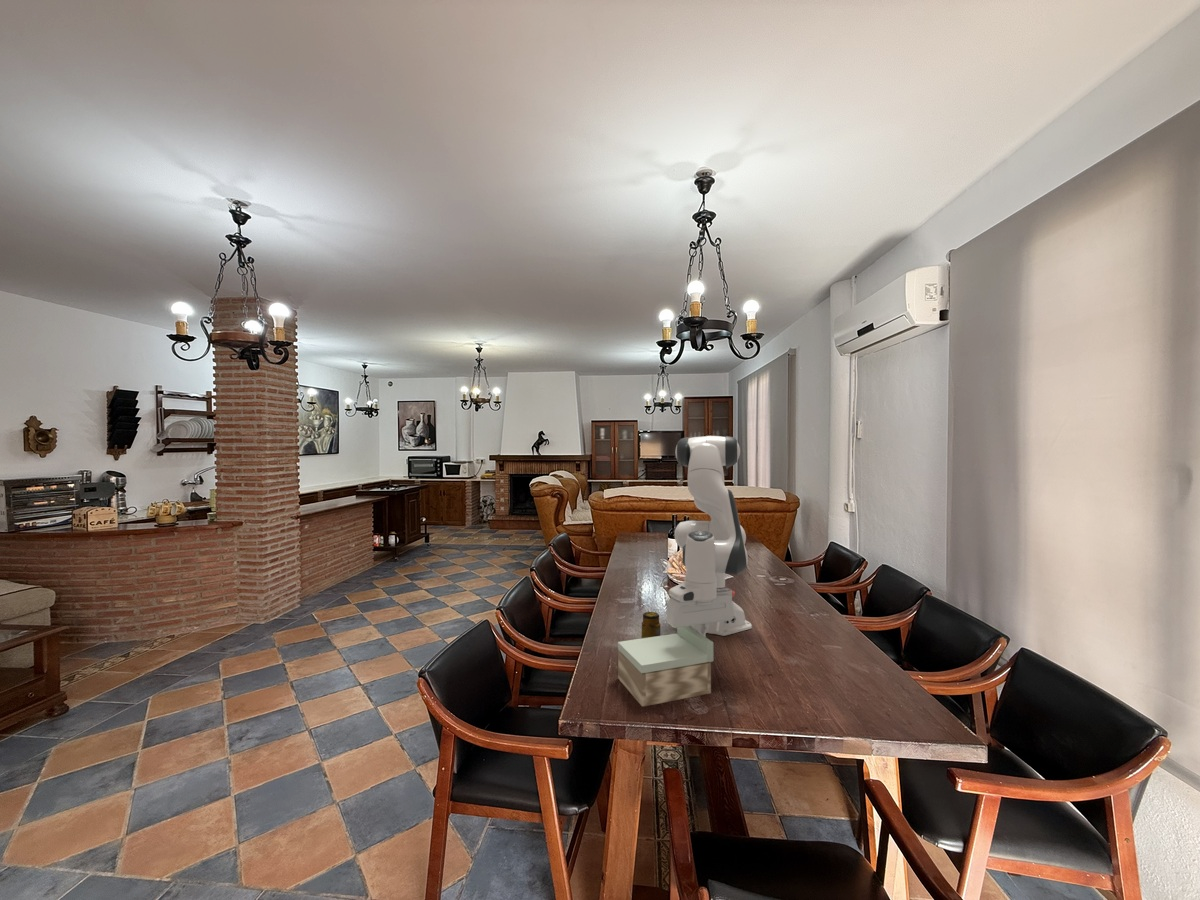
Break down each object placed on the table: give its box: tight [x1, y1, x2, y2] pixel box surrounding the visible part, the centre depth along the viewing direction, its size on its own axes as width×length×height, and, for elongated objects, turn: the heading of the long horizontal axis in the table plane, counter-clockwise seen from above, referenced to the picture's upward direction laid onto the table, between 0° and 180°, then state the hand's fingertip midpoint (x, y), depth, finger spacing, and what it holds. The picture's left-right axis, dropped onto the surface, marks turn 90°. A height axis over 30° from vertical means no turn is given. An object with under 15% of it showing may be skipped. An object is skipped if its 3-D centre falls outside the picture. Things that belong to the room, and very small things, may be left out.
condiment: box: [641, 611, 662, 639], centre depth 150 cm, size 7×8×12 cm
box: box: [617, 649, 712, 707], centre depth 128 cm, size 20×16×8 cm
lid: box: [617, 626, 714, 673], centre depth 128 cm, size 21×16×5 cm
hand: (701, 638), depth 132 cm, fingers closed
